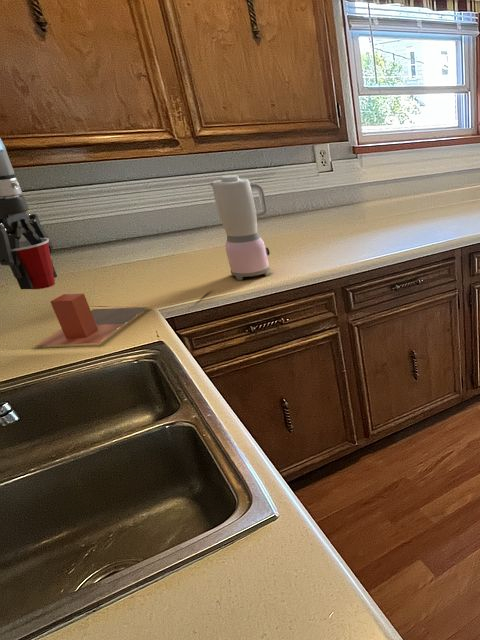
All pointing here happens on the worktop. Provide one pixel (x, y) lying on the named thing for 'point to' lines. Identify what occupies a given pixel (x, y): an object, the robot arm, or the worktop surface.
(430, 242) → the worktop surface
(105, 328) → the sorting board
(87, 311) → the terracotta block
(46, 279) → the plastic cup
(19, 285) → the robot arm
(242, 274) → the blender
